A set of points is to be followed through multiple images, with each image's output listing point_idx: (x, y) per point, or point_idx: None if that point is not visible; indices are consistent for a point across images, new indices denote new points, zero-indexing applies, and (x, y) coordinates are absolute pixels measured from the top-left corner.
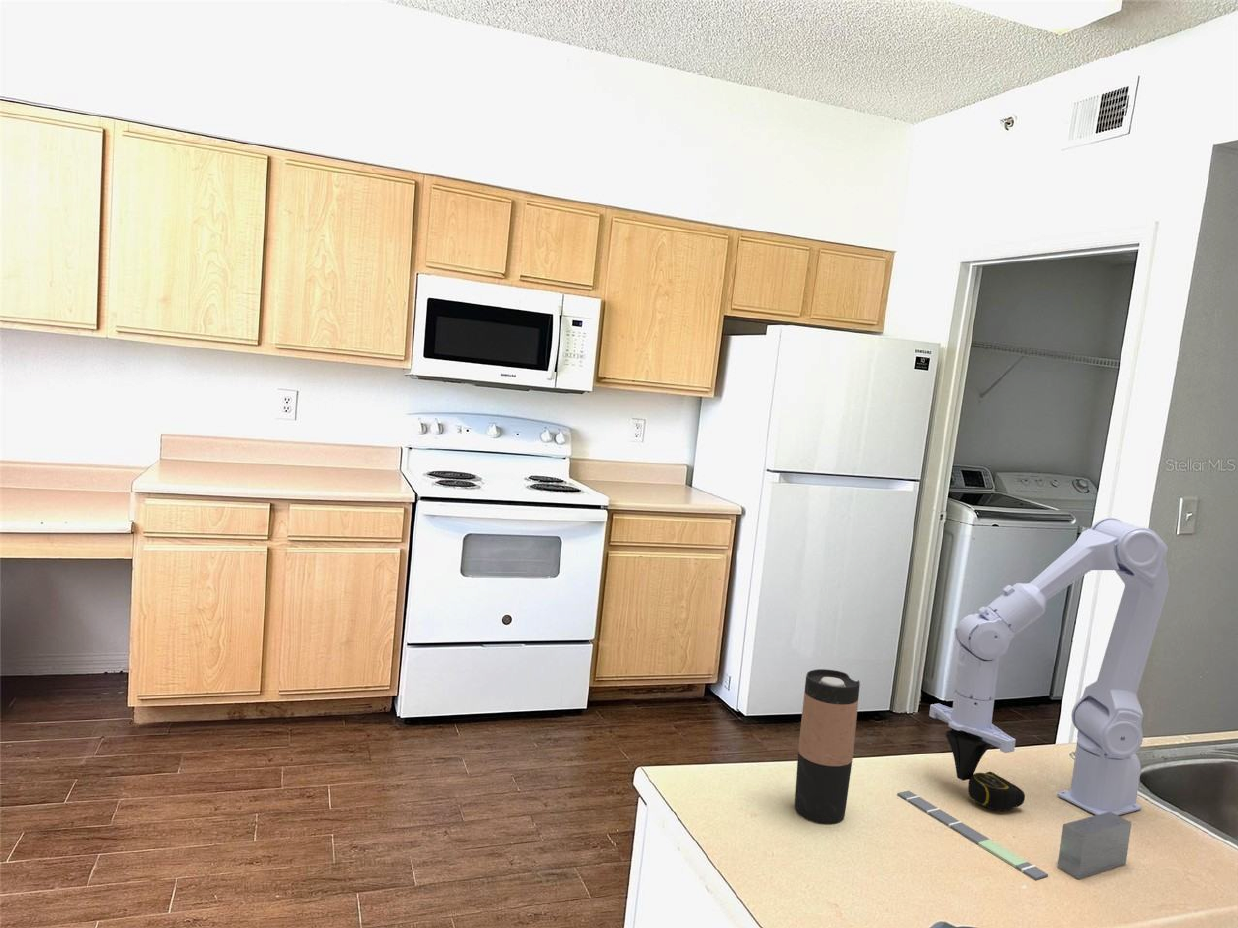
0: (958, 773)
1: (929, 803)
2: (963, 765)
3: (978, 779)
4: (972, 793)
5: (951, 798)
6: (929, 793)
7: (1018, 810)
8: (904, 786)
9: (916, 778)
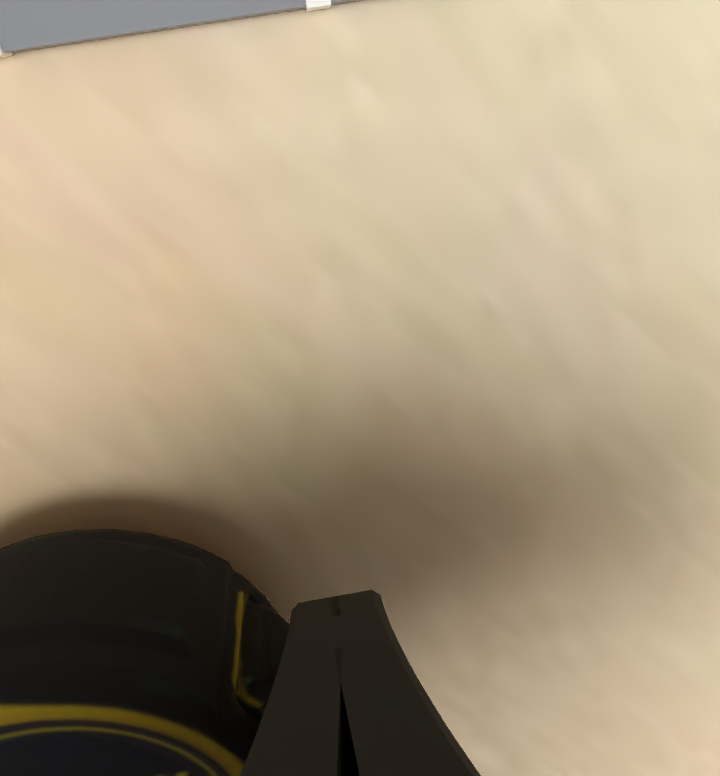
0: (349, 625)
1: (134, 19)
2: (270, 750)
3: (108, 733)
4: (90, 555)
5: (259, 389)
6: (393, 233)
7: None
8: (603, 44)
9: (685, 312)
